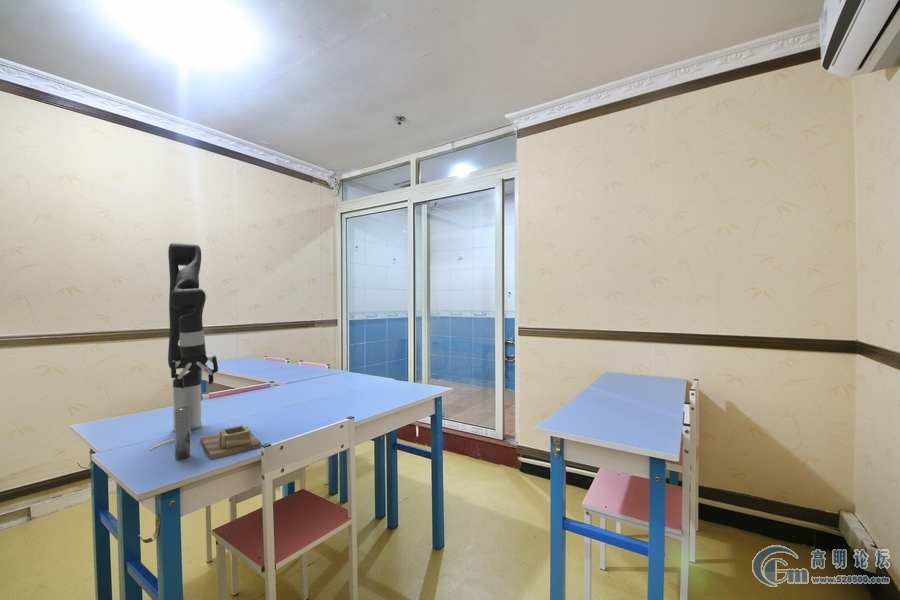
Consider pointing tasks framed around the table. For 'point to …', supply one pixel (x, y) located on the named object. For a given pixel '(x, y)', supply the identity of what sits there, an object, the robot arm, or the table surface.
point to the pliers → (164, 443)
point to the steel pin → (182, 433)
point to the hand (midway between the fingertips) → (196, 385)
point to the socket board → (230, 441)
